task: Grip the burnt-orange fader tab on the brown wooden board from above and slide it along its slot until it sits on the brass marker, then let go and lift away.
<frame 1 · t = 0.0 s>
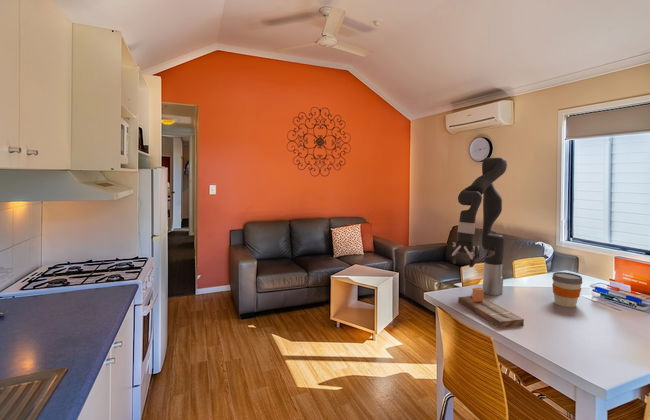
hand: (462, 265, 163), 22 cm above the table, fingers open, 8 cm apart
fader tab: (477, 294, 168), point 6 cm above the table, slide at 0.0 cm
brown wooden board: (488, 313, 161), on the table
reusable coffee cup: (565, 304, 173), on the table
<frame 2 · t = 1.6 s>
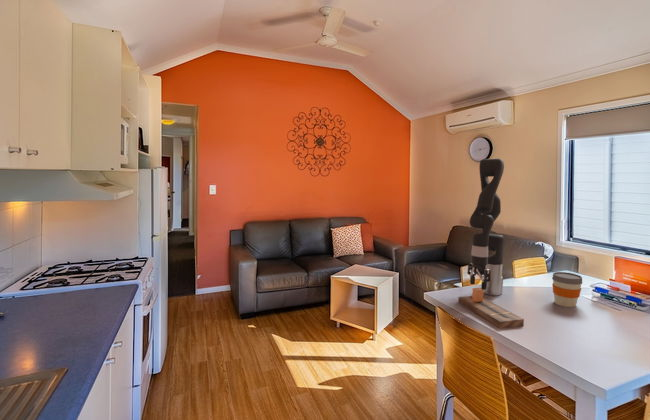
hand: (477, 286, 168), 11 cm above the table, fingers open, 8 cm apart
nothing on the table moved.
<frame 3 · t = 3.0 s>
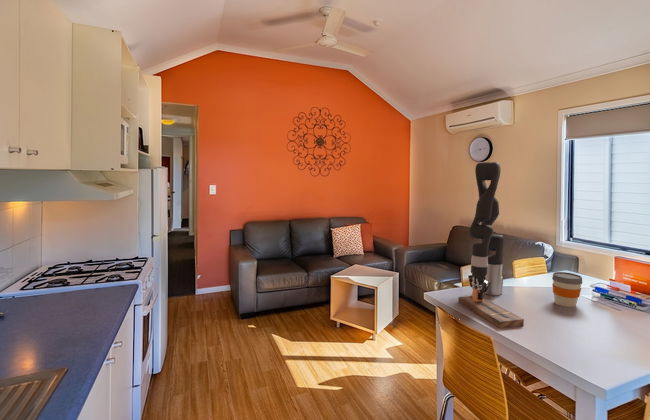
hand: (477, 297, 168), 5 cm above the table, fingers closed on fader tab, 3 cm apart
fader tab: (477, 294, 168), point 6 cm above the table, slide at 0.0 cm, touching gripper
everything else where it was.
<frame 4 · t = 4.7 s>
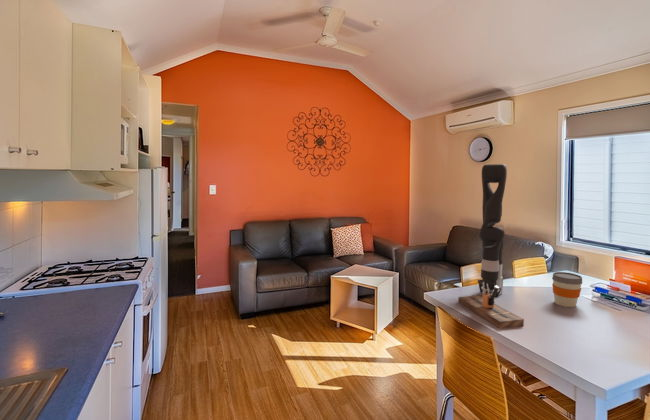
hand: (488, 303, 161), 5 cm above the table, fingers closed on fader tab, 3 cm apart
fader tab: (488, 300, 161), point 6 cm above the table, slide at 7.6 cm, touching gripper
everything else where it was.
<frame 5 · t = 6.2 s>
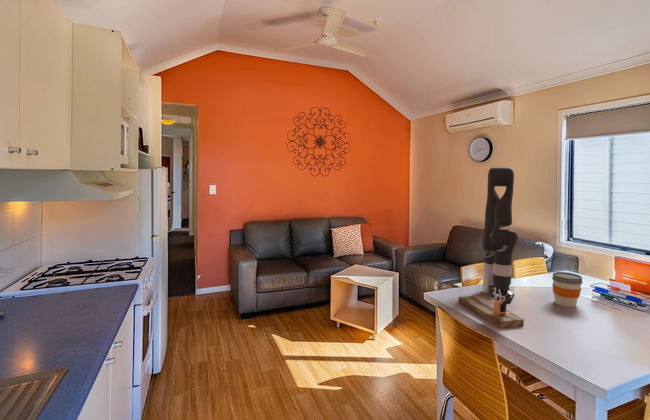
hand: (499, 310, 153), 5 cm above the table, fingers closed on fader tab, 3 cm apart
fader tab: (500, 306, 153), point 6 cm above the table, slide at 15.5 cm, touching gripper
everything else where it was.
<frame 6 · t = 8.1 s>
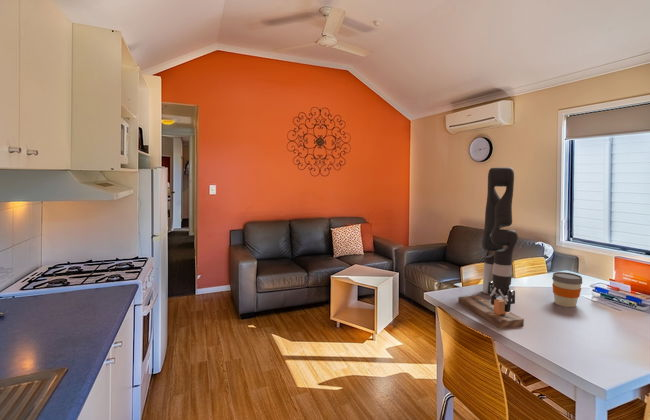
hand: (500, 308, 153), 6 cm above the table, fingers open, 8 cm apart
fader tab: (500, 306, 153), point 6 cm above the table, slide at 15.5 cm
everything else where it was.
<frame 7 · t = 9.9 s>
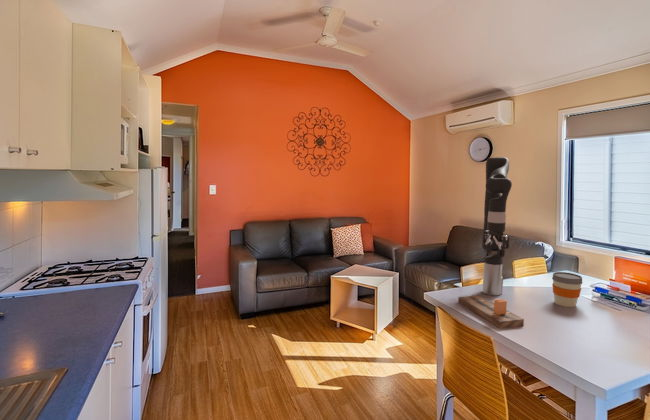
hand: (494, 254, 159), 28 cm above the table, fingers open, 8 cm apart
nothing on the table moved.
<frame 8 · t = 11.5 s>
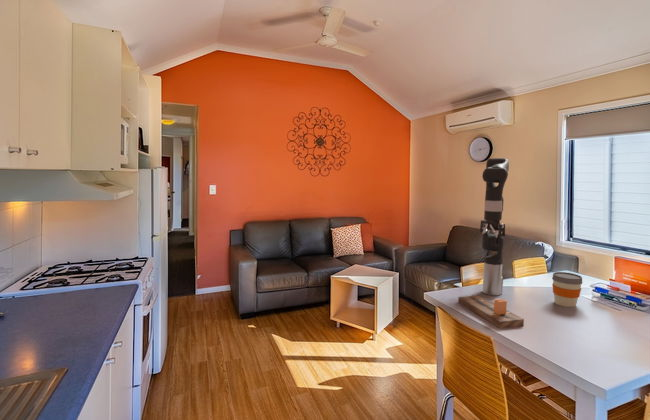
hand: (491, 243, 162), 33 cm above the table, fingers open, 8 cm apart
nothing on the table moved.
at the end: fader tab slide at 15.5 cm; the gripper is holding nothing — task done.
